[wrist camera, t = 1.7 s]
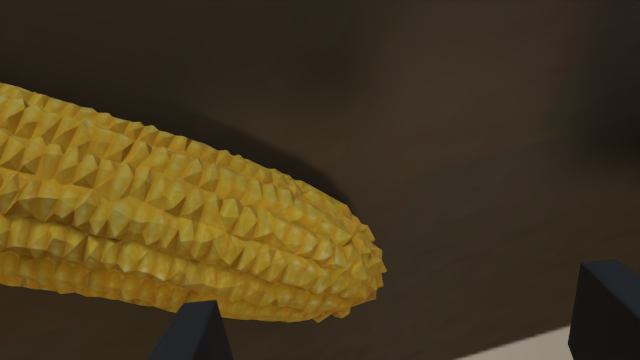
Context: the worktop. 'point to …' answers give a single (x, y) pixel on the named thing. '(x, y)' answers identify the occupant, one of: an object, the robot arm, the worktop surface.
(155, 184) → the food
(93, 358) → the worktop surface
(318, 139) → the worktop surface
